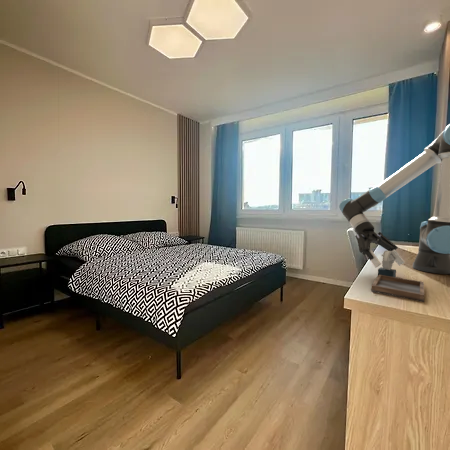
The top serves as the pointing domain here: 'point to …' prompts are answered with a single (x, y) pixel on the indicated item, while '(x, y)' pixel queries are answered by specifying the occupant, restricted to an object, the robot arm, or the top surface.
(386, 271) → the rubber stamp
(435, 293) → the top surface
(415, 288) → the valet tray
